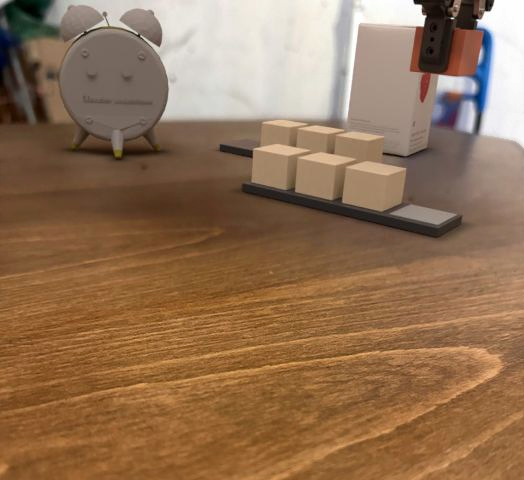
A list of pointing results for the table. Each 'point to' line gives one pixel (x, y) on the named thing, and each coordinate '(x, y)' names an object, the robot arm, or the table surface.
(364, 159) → the left rack
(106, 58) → the alarm clock
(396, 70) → the white product box
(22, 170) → the table surface
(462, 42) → the orange block
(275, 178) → the right rack
